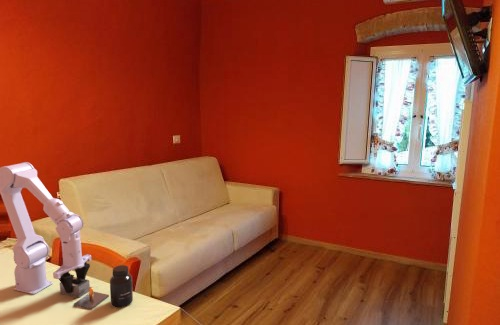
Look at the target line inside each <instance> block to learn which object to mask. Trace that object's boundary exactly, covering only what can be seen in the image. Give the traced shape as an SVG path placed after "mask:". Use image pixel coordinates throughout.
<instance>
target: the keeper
mask: <svg viewBox="0 0 500 325" xmlns="http://www.w3.org/2000/svg"><path fill="white" fill-rule="evenodd" d="M109 297H110V295H109V294H108V293H107V294H106V293H102V292H97V291H94V287H93V286H90V288H89V292H88V294H87V293H86V294H85V295H83V296H82V298H81V297H80V298H79V300H77V301H76V302H74V303H73V306H74V307H79V308H83V309H87V310H93V309H95V308H96V307H97V306H98V305H100V304H101V303H102V302H103V301H105V300H106V299H108V298H109Z"/></svg>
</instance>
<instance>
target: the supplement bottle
mask: <svg viewBox="0 0 500 325" xmlns="http://www.w3.org/2000/svg"><path fill="white" fill-rule="evenodd" d="M129 270H130V269H129V266H127V265H125V264H120V265H117V266H115V267H113V268H112V276H111V277H110V279H109V288H110V289H109V292H110V295H109V297H110V305H111V306H112V307H113V308H117V309H119V308H120V309H121V308H125V307H128V306H130V305H131V304H132V303H133V301H134V293H133V291H134V290H133V289H134V288H133V275H131V273H130V271H129Z"/></svg>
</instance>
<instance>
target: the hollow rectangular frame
mask: <svg viewBox="0 0 500 325" xmlns="http://www.w3.org/2000/svg"><path fill="white" fill-rule="evenodd" d="M90 287H91V286H90V280H89V279H86V278H85V279H81V278H77V276H76V277H75V276H74V277H73V281H72V293H66V292H65V289H64V287H63V285H62V283H61V282H59V292H60V295H65V296H69V297H74V298H78V299H81V297H82V298H83V297H84V296H85V295H87V293H89V288H90Z"/></svg>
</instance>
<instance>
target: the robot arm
mask: <svg viewBox="0 0 500 325" xmlns="http://www.w3.org/2000/svg"><path fill="white" fill-rule="evenodd" d="M22 189H27V190H28V191H29V193H31V194H32V195H33V196H34V197H35V198H36V199H37V200H38V201H39V202H40V203H41V204H42V205H43V208H42V210H43V211H44V213H45V214H46V215H47V216H48V217H49V218H50V219H51V221H52V222H53V223H54V225H56V227H55V231H56V233H57V235H58V236H59V240H60V241H61V252H62V265H61V266H60V267H59V268H57V270H55V271H54V272H52V277H53V279H56V280H59V281H60V282H61V283H62V285H63V287H64V289H65V292H66V293H72V281H73V277H75V275H76V277H77V278H81V279H86V278H87V273H88V271H89V268H90V267H91V264H90V263H88V262H91V261H92V255H91V254H84V255H83V254H82V252H83V251H82V242H81V229H83V227H84V221H83V219H82V217H81V215H79V214H77V213H74V212H72V211H70V210H69V208H68V207H67V206H66V205H65V204H64V202H63V200H61V199H59V198H55V197H53V196H52V194H51V193H50V192H49V191H48V189H47V188H46V187H45V185H44V184H43V182H42V181H41V179H40V178H39V177H38V170H37V169H36V168H35V167H34V166H33V164H31V163H30V162H28V161H24V162H20V163H17V164H16V163H15V164H11V165H5V166H1V167H0V196H1V199H2V201H3V205H4V207H5V210H6V212H7V215H8V218H9V221H10V222H11V226H12V229H13V231H14V234H15V237H16V239H17V241H16V242H15V243H14V245H13V247H12V252H13V261H14V264H15V268H14V281H15V287H14V288H13V290H15V291H18V292H23V293H26V294H31V295H35V294H37V293H39V292H40V291H42V290H44V289H46V288H48V287H50V286H51V285H53V283H54V281H50V280H47V279H48V277H47V269H46V260H47V256H49V253H50V246H49V245H48V243H47V242H46V241H45V239H44V237H43V236H41V235H39V234H37V233H36V231H35V228H34V227H33V223H32V220H31V217H30V216H29V215H30V214H29V212H28V209H27V206H26V203H25V201H24V199H23V196H22V193H21V192H22ZM73 270H74V271H75V275H74V274H71V271H73ZM60 282H59V283H60Z"/></svg>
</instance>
